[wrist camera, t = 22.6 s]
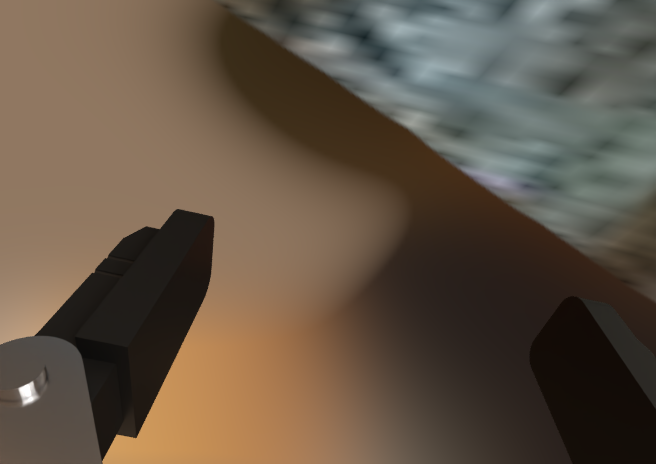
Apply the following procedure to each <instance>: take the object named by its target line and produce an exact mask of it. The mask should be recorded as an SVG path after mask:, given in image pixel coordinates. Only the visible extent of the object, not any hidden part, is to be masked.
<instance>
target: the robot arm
mask: <svg viewBox="0 0 656 464" xmlns="http://www.w3.org/2000/svg"><path fill="white" fill-rule="evenodd" d="M213 238H214V218H213V217H212V216H208V215H203V214H199V213H194V212H189V211H184V210H180V209H177V210H175V211H174V212H173V214H172V215H171V216H170V217H169V218H168V220H167V221H166V222H165V224H164V225H163V226H162V227H161V229H156V228H151V227H144V228H142V229H141V230H138V231H137V232H134V233H133V234H131V235H129V236H127V237H125V238H123V239H122V240H121V241H120V243H119V244H118V245H117V246H116V247H115V248H114V249H113V250H112V251H111V253H110V254H109V255H108V258H107V259H106V258H105V259H104V260H103V262H102V263H101V264H100V265H99V266H98V267H97V268H96V270H95V273H92V274H91V275H90V276H89V277H88V278H87V279H86V280H85V281H84V282H83V283H82V285H81V286H80V287H79V288H78V289H77V290H76V291H75V292H74V293H73V295H72V296H71V297H70V298H69V299H68V300H67V301H66V302H65V303H64V304H63V306H62V307H61V308H60V309H59V310H58V311H57V312H56V313H55V314H54V315H53V317H52V318H51V319H50V320H49V321H48V322H47V323H46V324H45V326H43V328H42V329H41V330H40V331H39V332H38V333H37V334H36V335H35V336H32V337H25V338H20V339H16V340H12V341H9V342H6V343H3V344H1V345H0V464H102V461H103V459H104V457H105V455H106V453H107V451H108V449H109V448H110V446H111V444H112V442H113V440H114V438H115V436H116V435H123V436H129V437H133V438H137V436H138V434H139V431H140V429H141V427H142V425H143V423H144V421H145V419H146V417H147V415H148V413H149V411H150V409H151V407H152V405H153V403H154V400H155V399H156V397H157V395H158V392H159V390H160V388H161V386H162V384H163V382H164V380H165V378H166V376H167V374H168V372H169V370H170V368H171V366H172V363H173V362H174V359H175V358H176V356H177V353H178V351H179V349H180V347H181V345H182V343H183V341H184V339H185V337H186V335H187V333H188V331H189V329H190V327H191V325H192V323H193V321H194V319H195V316H196V314H197V312H198V310H199V308H200V306H201V304H202V302H203V300H204V298H205V295H206V292H207V289H208V286H209V282H210V277H211V268H212V253H213ZM530 365H531V368H532V371H533V373H534V375H535V378H536V380H537V382H538V385H539V387H540V389H541V392H542V394H543V396H544V399H545V401H546V403H547V406H548V408H549V410H550V413H551V415H552V417H553V419H554V422H555V424H556V426H557V429H558V431H559V433H560V436H561V438H562V440H563V442H564V445H565V447H566V449H567V452H568V454H569V456H570V459H571V461H572V463H573V464H656V358H655V356H654V355H653V354H652V352H651V351H649V349H647V348H646V347H645V346H644V345H643V344H642V343H641V342H639V341H638V340H637V339H636V337H635V336H634V335H633V333H632V332H631V331H630V330H629V328H628V327H627V325H626V324H625V323H624V321H623V320H622V319H621V318H620V316H619V315H618V314H617V312H616V311H615V310H614V308H613V307H612V306H610V305H608V304H606V303H602V302H597V301H592V300H588V299H584V298H579V297H574V296H571V297H568V298H566V299H565V300H564V301H563V302H562V303H561V304H560V305H559V307H558V308H557V309H556V311H555V312H554V314H553V315H552V316H551V318H550V319H549V320H548V322H547V323H546V324H545V326H544V327H543V329H542V330H541V331H540V333H539V334H538V335H537V337H536V338H535V340H534V341H533V343H532V346H531V349H530Z"/></svg>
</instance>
